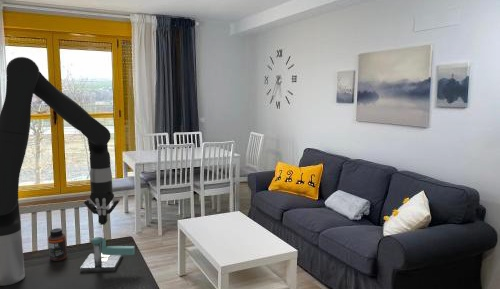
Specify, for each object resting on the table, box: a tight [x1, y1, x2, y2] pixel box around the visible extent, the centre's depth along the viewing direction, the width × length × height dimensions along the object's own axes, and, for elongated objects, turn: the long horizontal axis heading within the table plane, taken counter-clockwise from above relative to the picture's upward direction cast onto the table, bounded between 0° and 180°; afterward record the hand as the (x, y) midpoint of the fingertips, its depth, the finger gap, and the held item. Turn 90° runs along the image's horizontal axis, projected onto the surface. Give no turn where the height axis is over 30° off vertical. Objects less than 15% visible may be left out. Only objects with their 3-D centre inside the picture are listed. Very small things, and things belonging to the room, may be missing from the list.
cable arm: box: [90, 236, 136, 256], centre depth 142 cm, size 4×15×6 cm, turn 91°
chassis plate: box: [79, 243, 124, 273], centre depth 147 cm, size 12×12×10 cm
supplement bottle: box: [47, 227, 68, 262], centre depth 151 cm, size 6×6×11 cm
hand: (103, 224), depth 149 cm, fingers closed
